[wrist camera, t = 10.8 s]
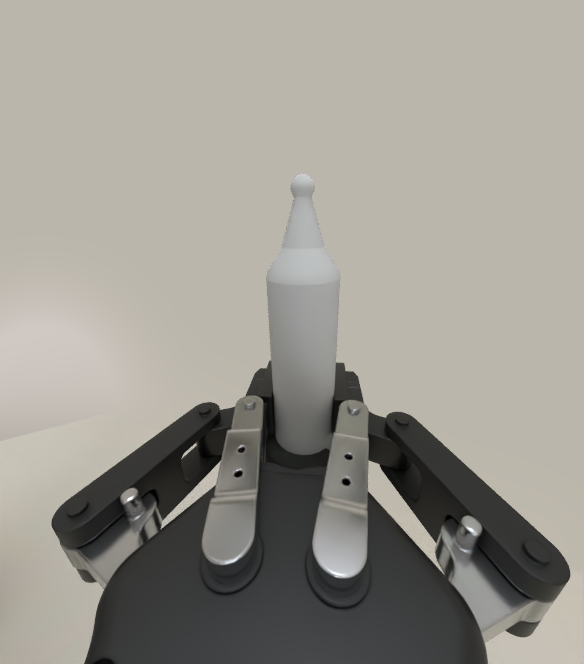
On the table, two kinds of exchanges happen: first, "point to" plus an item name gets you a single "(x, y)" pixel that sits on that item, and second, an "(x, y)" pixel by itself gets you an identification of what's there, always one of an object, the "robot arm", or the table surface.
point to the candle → (302, 338)
